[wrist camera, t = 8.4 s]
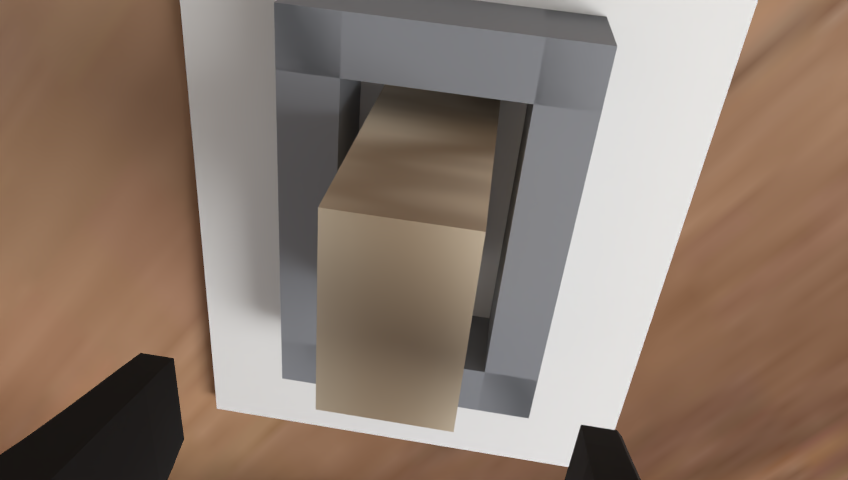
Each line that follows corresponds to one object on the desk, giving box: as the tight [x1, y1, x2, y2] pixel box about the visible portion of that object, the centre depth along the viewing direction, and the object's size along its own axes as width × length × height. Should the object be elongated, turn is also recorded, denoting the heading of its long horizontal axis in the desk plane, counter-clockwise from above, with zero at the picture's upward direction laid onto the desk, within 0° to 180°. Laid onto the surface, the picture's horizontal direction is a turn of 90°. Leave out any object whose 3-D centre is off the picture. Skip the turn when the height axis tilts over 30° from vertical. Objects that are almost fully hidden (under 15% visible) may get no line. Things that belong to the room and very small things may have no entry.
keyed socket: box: [180, 0, 758, 467], centre depth 19 cm, size 20×14×3 cm
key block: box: [316, 84, 501, 432], centre depth 17 cm, size 3×5×7 cm, turn 175°
